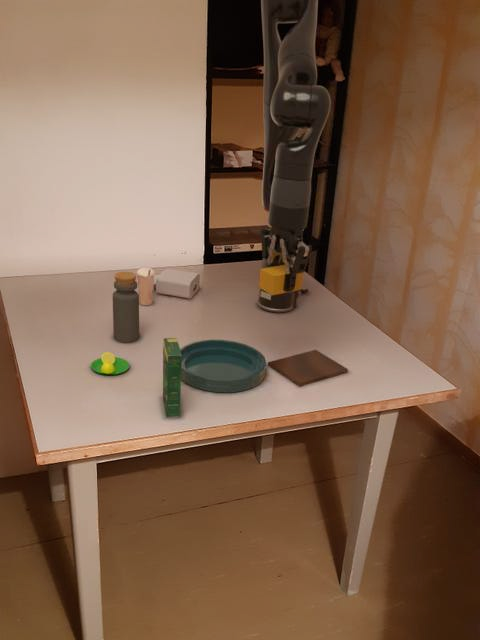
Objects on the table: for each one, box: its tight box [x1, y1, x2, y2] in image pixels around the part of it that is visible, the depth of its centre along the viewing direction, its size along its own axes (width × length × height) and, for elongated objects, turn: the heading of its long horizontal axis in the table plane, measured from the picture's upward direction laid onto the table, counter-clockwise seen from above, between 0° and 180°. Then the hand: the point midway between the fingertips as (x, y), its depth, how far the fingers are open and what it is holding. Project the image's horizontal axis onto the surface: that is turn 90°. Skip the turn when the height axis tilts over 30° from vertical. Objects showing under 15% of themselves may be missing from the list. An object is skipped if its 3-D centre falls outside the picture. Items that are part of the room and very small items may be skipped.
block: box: [258, 265, 304, 295], centre depth 136 cm, size 8×5×4 cm, turn 124°
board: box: [267, 349, 349, 387], centre depth 148 cm, size 14×11×1 cm
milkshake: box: [136, 267, 156, 306], centre depth 170 cm, size 4×5×10 cm
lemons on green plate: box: [90, 351, 130, 375], centre depth 141 cm, size 8×8×3 cm
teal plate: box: [180, 339, 267, 393], centre depth 143 cm, size 19×19×3 cm
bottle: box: [112, 271, 140, 344], centre depth 151 cm, size 6×6×15 cm
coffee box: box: [162, 337, 182, 419], centre depth 126 cm, size 8×3×13 cm, turn 10°
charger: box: [154, 268, 201, 300], centre depth 181 cm, size 5×9×15 cm
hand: (280, 286), depth 136 cm, fingers closed on block, 4 cm apart
